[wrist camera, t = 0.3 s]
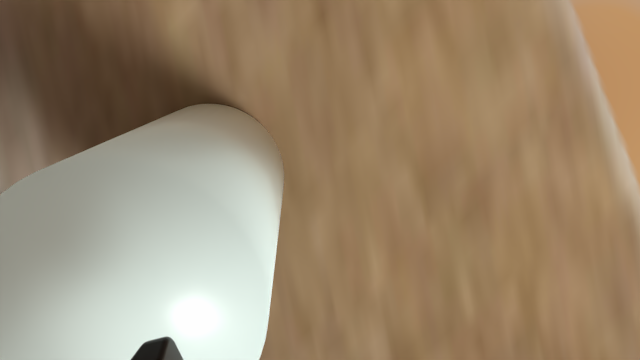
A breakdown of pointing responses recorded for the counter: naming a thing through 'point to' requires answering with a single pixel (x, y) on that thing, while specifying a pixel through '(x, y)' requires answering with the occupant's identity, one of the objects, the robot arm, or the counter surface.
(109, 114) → the counter surface
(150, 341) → the robot arm
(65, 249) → the pale upright pillar block
